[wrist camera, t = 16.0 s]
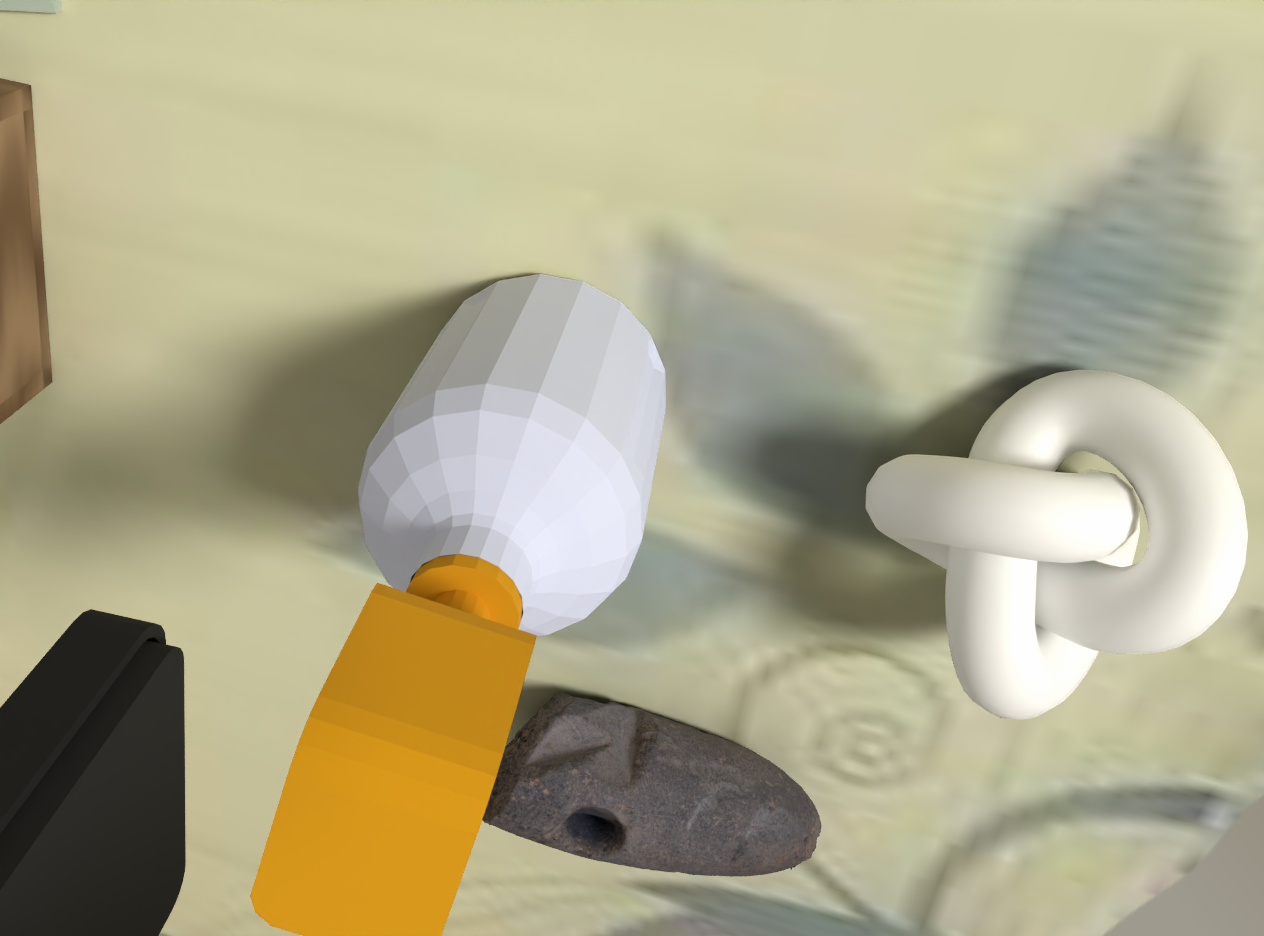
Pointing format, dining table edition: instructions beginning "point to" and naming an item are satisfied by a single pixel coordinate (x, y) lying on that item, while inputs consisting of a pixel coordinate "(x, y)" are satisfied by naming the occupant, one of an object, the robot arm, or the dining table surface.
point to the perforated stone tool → (648, 794)
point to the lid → (31, 5)
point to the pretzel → (1069, 535)
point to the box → (20, 257)
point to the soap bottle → (463, 596)
